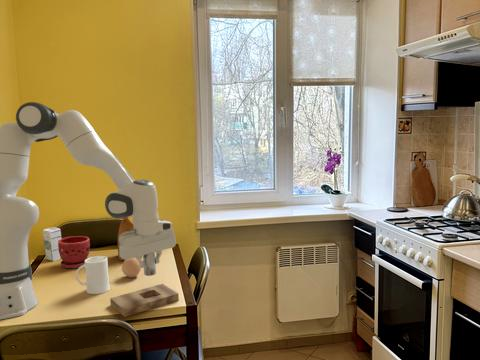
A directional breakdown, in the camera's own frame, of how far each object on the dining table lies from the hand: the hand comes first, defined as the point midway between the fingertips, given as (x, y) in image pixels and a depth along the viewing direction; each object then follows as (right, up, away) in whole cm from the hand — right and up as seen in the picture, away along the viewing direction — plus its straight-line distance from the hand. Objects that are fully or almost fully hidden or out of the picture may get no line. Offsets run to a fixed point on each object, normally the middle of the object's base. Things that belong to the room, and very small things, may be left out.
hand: (149, 265), depth 152 cm
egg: (-12, -10, +25) cm, 29 cm away
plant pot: (-41, -8, +41) cm, 59 cm away
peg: (0, -3, +1) cm, 3 cm away
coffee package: (-20, -6, +51) cm, 55 cm away
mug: (-23, -12, +11) cm, 29 cm away
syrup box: (-55, -7, +51) cm, 75 cm away
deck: (-1, -13, -1) cm, 13 cm away
